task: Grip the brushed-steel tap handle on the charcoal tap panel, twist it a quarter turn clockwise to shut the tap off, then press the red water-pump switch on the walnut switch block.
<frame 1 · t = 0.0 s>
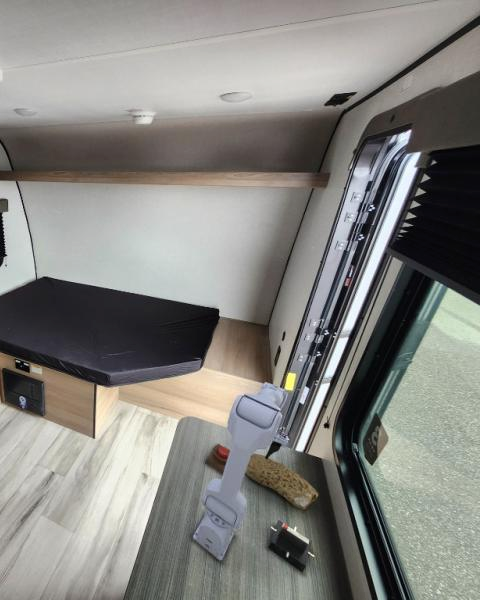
hand: (254, 449, 102), 10 cm above the table, tool pointing down, fingers open, 7 cm apart
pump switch: (221, 460, 110), on the table
pump button: (223, 452, 108), point 4 cm above the table, slide at 0.1 cm
tap panel: (288, 548, 85), on the table
tap handle: (293, 537, 83), point 5 cm above the table, hinge at 90.0°
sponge: (273, 485, 102), on the table
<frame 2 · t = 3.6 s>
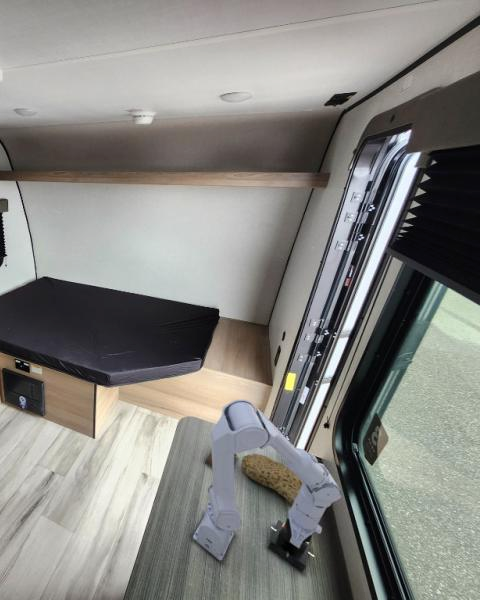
hand: (292, 540, 83), 4 cm above the table, tool pointing down, fingers closed on tap handle
tap handle: (293, 537, 83), point 5 cm above the table, hinge at 89.9°, touching gripper
everything else where it was.
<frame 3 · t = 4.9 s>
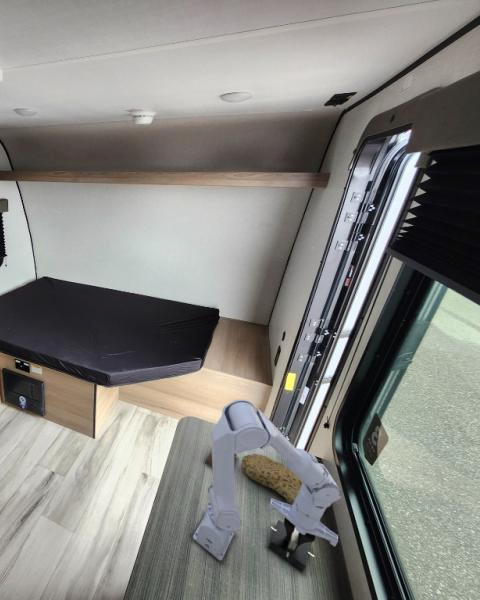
hand: (292, 540, 83), 3 cm above the table, tool pointing down, fingers closed
tap handle: (293, 537, 83), point 5 cm above the table, hinge at 4.5°
everything else where it was.
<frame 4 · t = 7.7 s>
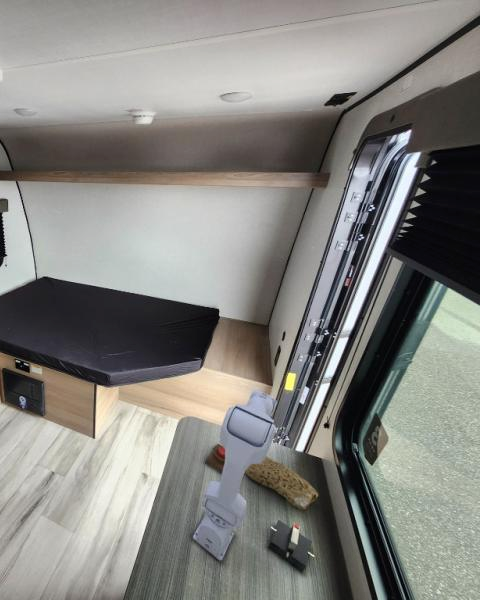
hand: (243, 458, 99), 10 cm above the table, tool pointing down, fingers open, 7 cm apart
nothing on the table moved.
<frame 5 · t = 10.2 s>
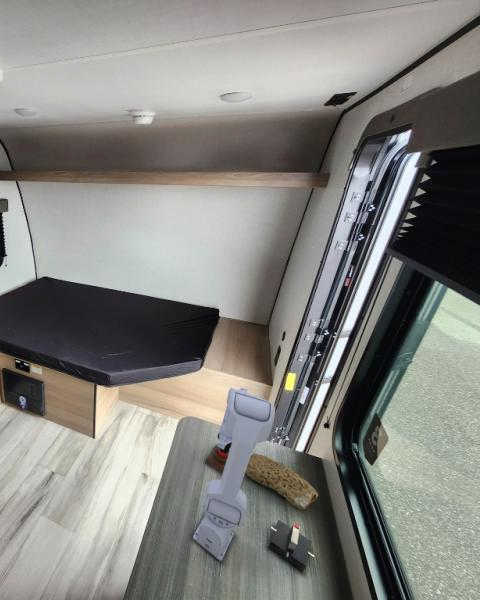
hand: (223, 451, 108), 5 cm above the table, tool pointing down, fingers closed, pressing on pump button
pump button: (223, 452, 108), point 4 cm above the table, slide at -0.1 cm, touching gripper
everything else where it was.
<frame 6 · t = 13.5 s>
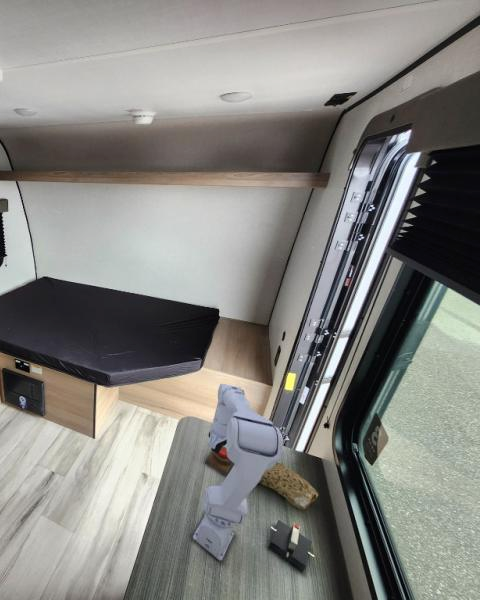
hand: (215, 450, 101), 10 cm above the table, tool pointing down, fingers closed
pump button: (223, 452, 108), point 4 cm above the table, slide at 0.1 cm
everything else where it was.
at the end: tap handle at +4° (first picture: +90°); pump button pushed in 1.2 cm at the most during the clip, back to where it started at the end; pump button slide at 0.1 cm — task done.
